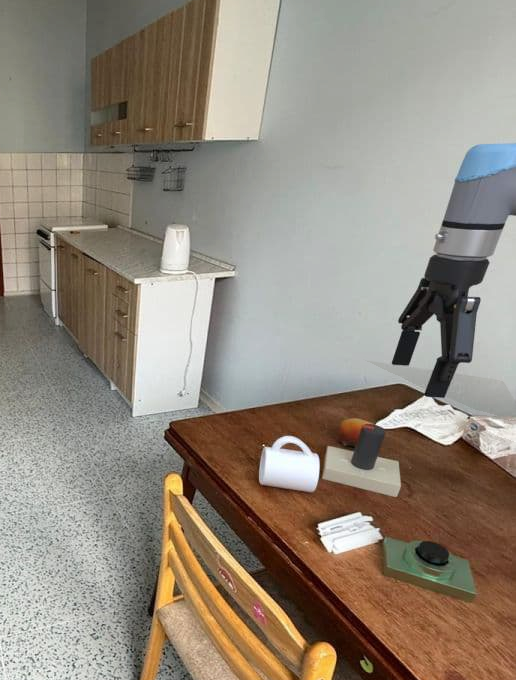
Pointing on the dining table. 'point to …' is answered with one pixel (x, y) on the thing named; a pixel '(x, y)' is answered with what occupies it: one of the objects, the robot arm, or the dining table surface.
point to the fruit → (351, 431)
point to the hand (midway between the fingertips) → (415, 379)
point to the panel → (362, 472)
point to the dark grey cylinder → (368, 446)
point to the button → (433, 553)
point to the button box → (427, 570)
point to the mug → (289, 466)
